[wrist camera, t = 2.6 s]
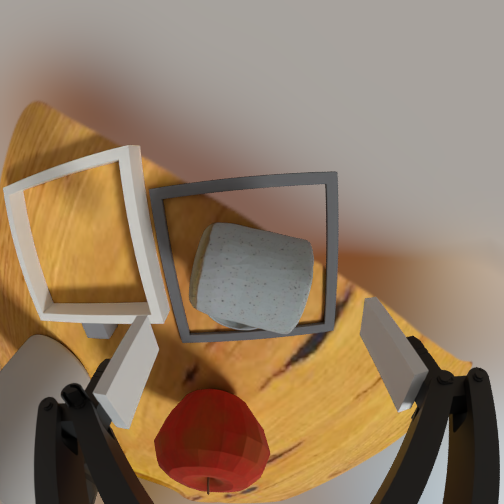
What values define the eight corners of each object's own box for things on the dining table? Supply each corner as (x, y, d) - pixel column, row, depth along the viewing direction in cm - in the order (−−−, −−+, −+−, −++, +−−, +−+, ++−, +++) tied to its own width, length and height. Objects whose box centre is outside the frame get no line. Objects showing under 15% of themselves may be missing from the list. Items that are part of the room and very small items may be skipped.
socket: (57, 323, 27) (47, 334, 25) (17, 184, 21) (3, 188, 19) (174, 325, 27) (168, 340, 25) (139, 145, 21) (128, 144, 18)
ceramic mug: (210, 209, 23) (193, 237, 16) (303, 228, 24) (326, 264, 16) (194, 311, 27) (178, 364, 19) (273, 326, 27) (280, 381, 20)
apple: (283, 387, 30) (296, 487, 17) (237, 430, 34) (236, 511, 21) (189, 351, 28) (163, 461, 15) (158, 402, 32) (135, 487, 18)
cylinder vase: (106, 399, 32) (55, 532, 9) (52, 388, 32) (-4, 492, 9) (70, 334, 28) (-24, 483, 4) (18, 329, 28) (-66, 435, 4)
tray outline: (183, 340, 28) (182, 342, 27) (150, 188, 22) (149, 189, 22) (332, 328, 27) (333, 330, 27) (335, 171, 22) (337, 171, 21)
